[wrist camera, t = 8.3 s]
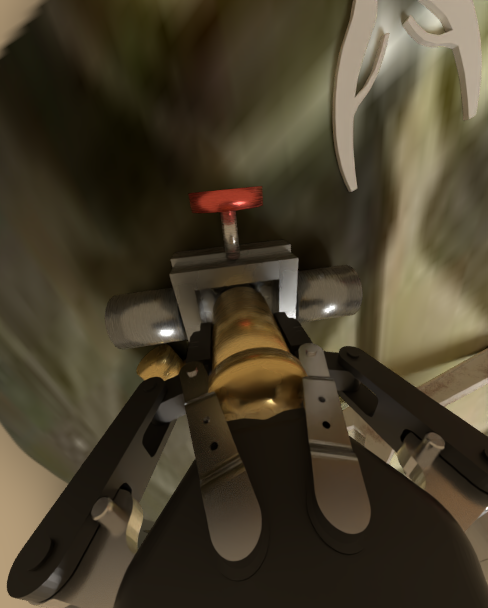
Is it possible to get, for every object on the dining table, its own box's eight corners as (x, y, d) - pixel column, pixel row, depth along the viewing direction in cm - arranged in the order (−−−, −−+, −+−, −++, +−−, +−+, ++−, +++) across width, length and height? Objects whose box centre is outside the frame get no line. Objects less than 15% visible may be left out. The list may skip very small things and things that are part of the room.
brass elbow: (226, 361, 23) (200, 326, 20) (228, 387, 20) (198, 350, 17) (175, 384, 24) (143, 353, 21) (169, 413, 20) (131, 381, 18)
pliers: (355, 193, 15) (262, -195, 8) (343, 193, 16) (255, -135, 9) (494, 108, 13) (539, -468, 6) (468, 116, 15) (480, -349, 8)
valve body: (347, 177, 15) (403, 171, 11) (327, 319, 22) (356, 352, 17) (87, 204, 14) (27, 209, 9) (148, 346, 20) (129, 389, 16)
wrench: (491, 328, 31) (318, 421, 31) (493, 319, 30) (315, 415, 30) (580, 365, 24) (356, 486, 24) (587, 355, 23) (354, 481, 23)
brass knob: (270, 279, 15) (318, 355, 8) (271, 332, 17) (309, 425, 10) (204, 288, 15) (194, 375, 8) (214, 340, 17) (214, 443, 10)
